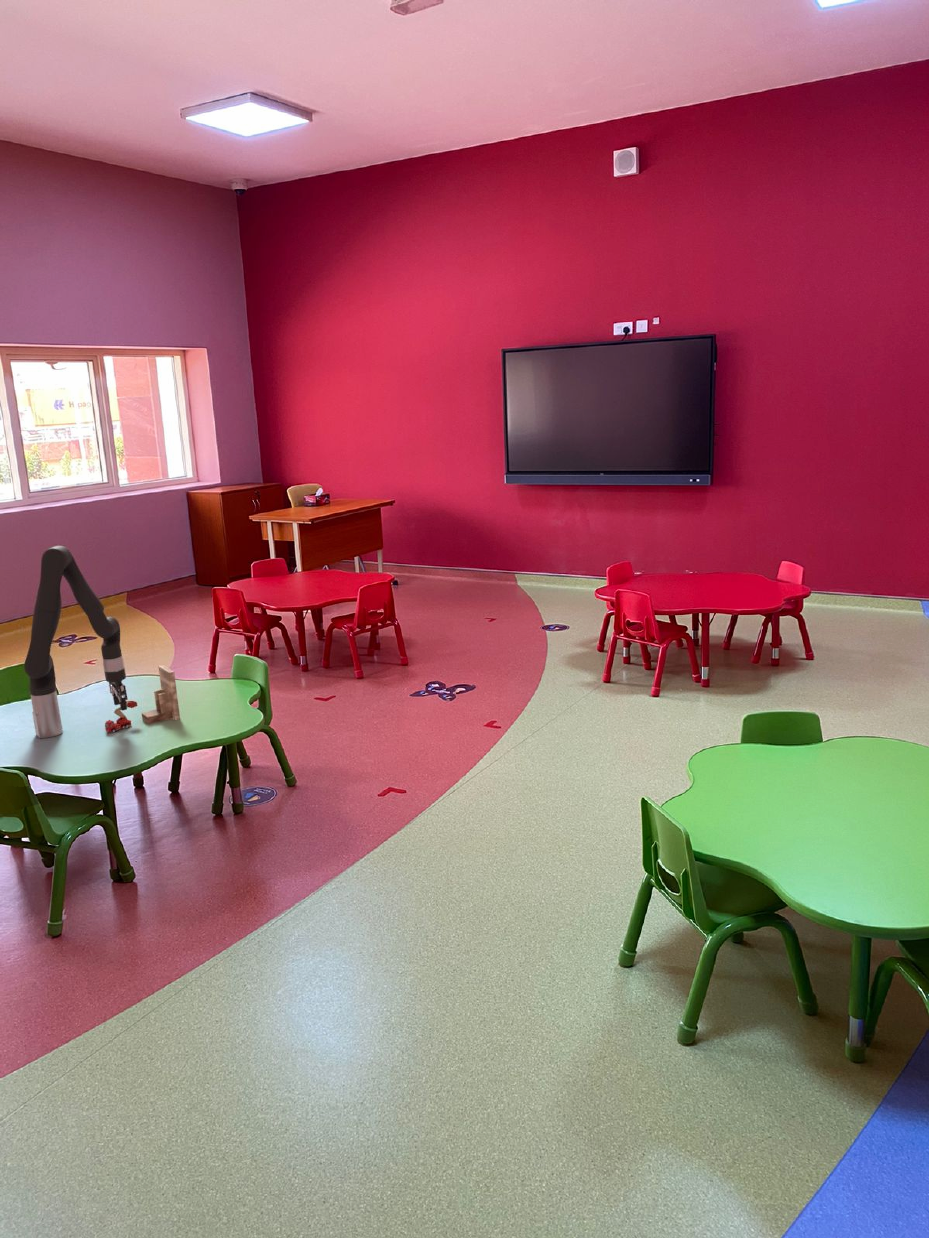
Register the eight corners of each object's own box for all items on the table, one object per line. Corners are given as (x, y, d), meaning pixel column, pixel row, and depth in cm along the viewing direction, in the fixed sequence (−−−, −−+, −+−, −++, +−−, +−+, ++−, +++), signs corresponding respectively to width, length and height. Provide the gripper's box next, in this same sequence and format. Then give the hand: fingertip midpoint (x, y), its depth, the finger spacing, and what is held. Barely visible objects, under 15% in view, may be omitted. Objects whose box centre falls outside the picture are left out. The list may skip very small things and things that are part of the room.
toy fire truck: (104, 732, 359) (101, 709, 357) (135, 721, 370) (132, 699, 367) (109, 734, 357) (105, 710, 355) (140, 723, 368) (137, 700, 366)
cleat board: (150, 726, 364) (144, 678, 359) (140, 717, 374) (133, 671, 369) (180, 719, 370) (174, 671, 366) (169, 710, 381) (163, 664, 376)
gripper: (99, 666, 361) (105, 705, 365) (109, 674, 350) (116, 714, 354) (118, 662, 365) (124, 700, 370) (129, 669, 354) (136, 709, 358)
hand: (120, 707), depth 362 cm, fingers open, 8 cm apart
